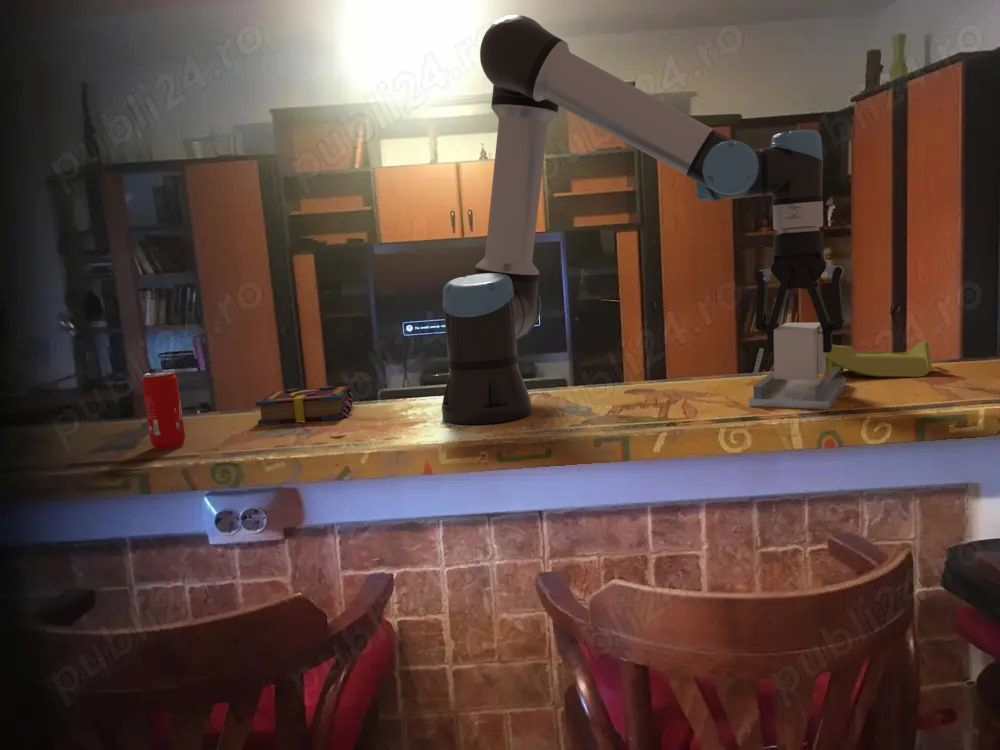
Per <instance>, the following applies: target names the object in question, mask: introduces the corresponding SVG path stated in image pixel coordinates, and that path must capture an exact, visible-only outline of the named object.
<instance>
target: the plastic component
mask: <svg viewBox="0 0 1000 750" xmlns="http://www.w3.org/2000/svg"><path fill="white" fill-rule="evenodd" d="M930 353H931V351H930V346H929V342H928V341H927V340H921V341H920V342H918V343H917V344H916V345H914V346H913V347H912V348H911V349H909V350H906V351H901V352H889V351H888V352H886V351H883V352H882V351H880V352H879V351H856V350H855V349H854V348H853V347H851V346H846V345H837V344H835V343H834V344H833V343H832V350H831V352H830V353H825V372H824V373H823V374H826V375H827V374H828V373H829V372H830V371H831V370H832V368H833V367H834V366H842V373H844V369H845V370H848V371H851V372H852V373H856V374H860V375H863V376H868V377H876V378H879V377H880V378H921V377H924V376H926V375H927V374H929V372H931V369H932V359H931V354H930Z"/></svg>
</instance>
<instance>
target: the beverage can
mask: <svg viewBox="0 0 1000 750" xmlns="http://www.w3.org/2000/svg"><path fill="white" fill-rule="evenodd" d="M141 384H142V391H143V398H144V405H145V411H146V418H147V423H148V424H147V425H148V426H147V427H148V431H149V437H150V443H151V444H152V447H154V450H155V451H167V450H173V449H178V448H181V447H183V446H184V445H185V443H184V442H185V440H186V433H185V432H186V430H185V425H184V418H183V411H182V410H183V409H182V404H181V397H180V389H179V382H178V376H177V375H176V373H175V371H174V370H165V371H156V372H150V373H144V374H143V375H142V380H141Z"/></svg>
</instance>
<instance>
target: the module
mask: <svg viewBox="0 0 1000 750" xmlns="http://www.w3.org/2000/svg"><path fill="white" fill-rule="evenodd" d="M819 332H822V328H821V325H820V322H819V321H818V322H816V321H815V322H785V323H783V324H782V325H780V326H778V327H777V328H776V329H774V352H773V370H774V379H799V380H814V379H815V378H816V377H818V376H819V375H820V374H818V333H819Z"/></svg>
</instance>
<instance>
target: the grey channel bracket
mask: <svg viewBox="0 0 1000 750" xmlns="http://www.w3.org/2000/svg"><path fill="white" fill-rule="evenodd" d="M842 374H843V372H842V366H834V367H833V368H832V370H831V371H830V372H829V373H828V374H826V375H825V377H823V376H819V377H818V376H817V377H816V378H815V379H814V380H799V379H774V369H773V370H771V372H770V373H769V374H767V375H766V376H765V377H763V379H761V380H760V381H758V382H757V383H756V384H755V385H753V394H752V395H751V396H749V398H748V407H765V408H784V409H785V408H787V409H788V408H789V409H810V410H811V409H813V410H815V409H816V410H830V409H831V408H832V406H833V405H834V404H835V402H836V400H837V399H838V398H839V397H840V395H841V394H842V392H843V391H844V390H845V389H846V387H847V384H848V378H847V377H843V375H842ZM832 404H833V405H832ZM830 407H831V408H830Z"/></svg>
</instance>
